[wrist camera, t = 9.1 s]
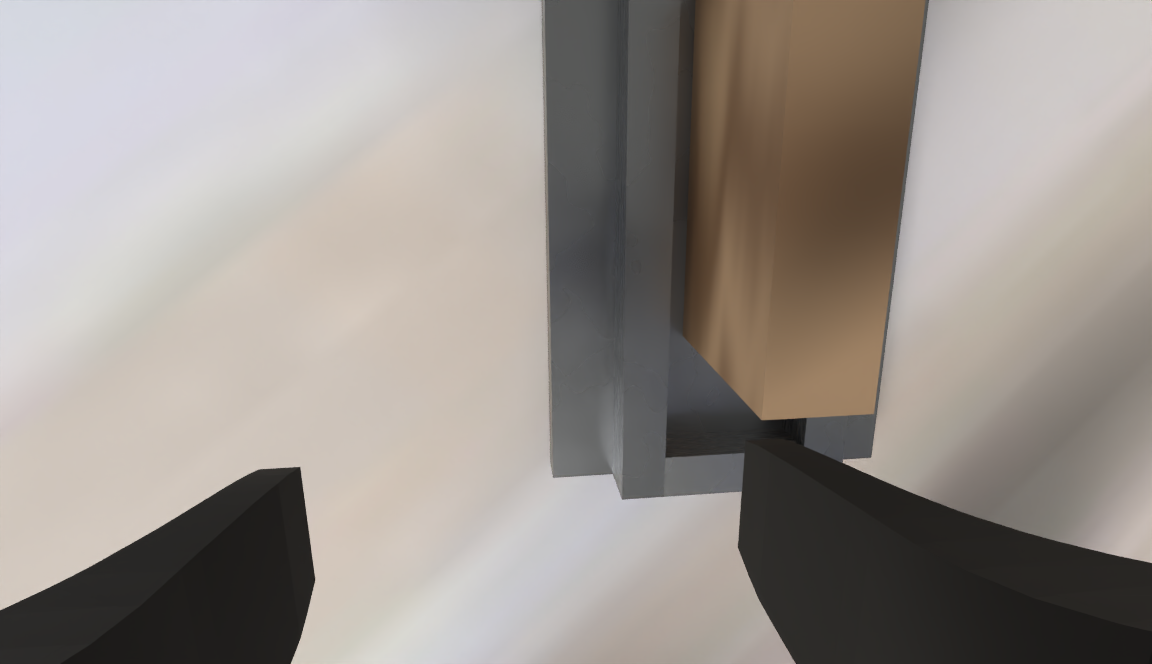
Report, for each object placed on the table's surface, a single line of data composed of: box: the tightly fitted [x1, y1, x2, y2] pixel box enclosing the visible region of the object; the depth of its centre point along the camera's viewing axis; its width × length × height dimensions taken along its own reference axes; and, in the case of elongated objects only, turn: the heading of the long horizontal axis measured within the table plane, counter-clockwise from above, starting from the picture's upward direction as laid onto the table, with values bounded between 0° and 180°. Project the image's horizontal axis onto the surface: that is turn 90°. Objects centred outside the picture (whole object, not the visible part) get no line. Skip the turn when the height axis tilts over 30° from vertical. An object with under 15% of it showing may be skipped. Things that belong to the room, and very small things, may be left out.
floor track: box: [542, 0, 929, 499], centre depth 18 cm, size 18×10×2 cm, turn 0°
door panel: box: [683, 0, 926, 420], centre depth 16 cm, size 9×2×6 cm, turn 0°
